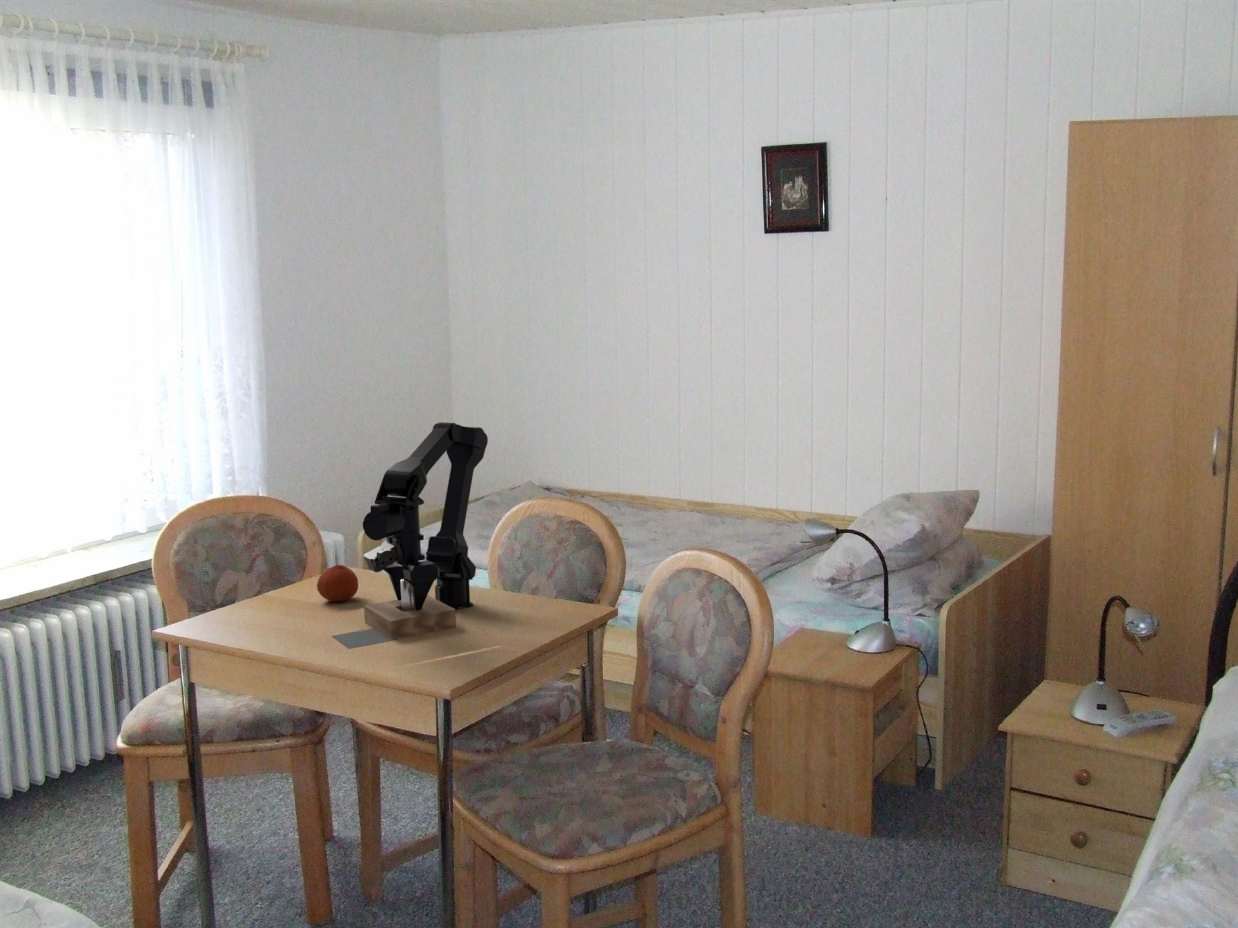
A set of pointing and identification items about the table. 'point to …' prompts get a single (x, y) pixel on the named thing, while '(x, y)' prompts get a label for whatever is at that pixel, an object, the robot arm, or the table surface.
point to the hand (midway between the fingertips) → (409, 604)
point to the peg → (406, 596)
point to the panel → (362, 638)
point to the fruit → (337, 583)
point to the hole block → (409, 618)
